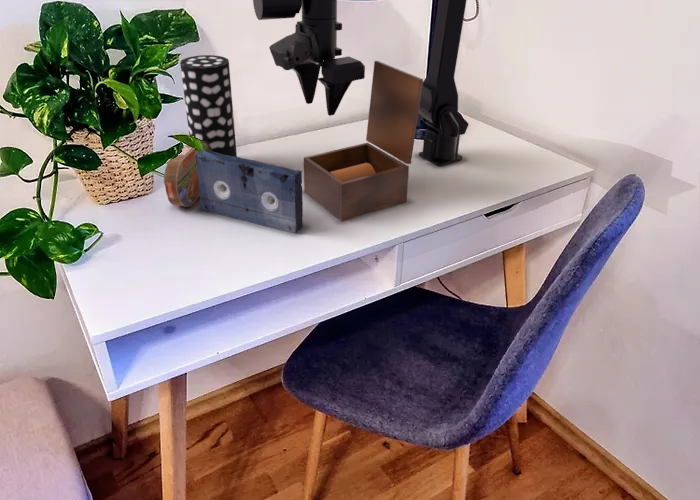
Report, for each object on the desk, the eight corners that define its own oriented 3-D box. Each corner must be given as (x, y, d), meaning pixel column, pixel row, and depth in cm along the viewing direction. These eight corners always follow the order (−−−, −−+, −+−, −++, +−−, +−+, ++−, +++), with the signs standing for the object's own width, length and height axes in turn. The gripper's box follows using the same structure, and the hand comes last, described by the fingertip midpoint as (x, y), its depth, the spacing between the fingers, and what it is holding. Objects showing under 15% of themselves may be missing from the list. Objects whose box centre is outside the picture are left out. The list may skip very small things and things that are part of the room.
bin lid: (419, 79, 98) (423, 79, 98) (374, 60, 106) (377, 60, 107) (407, 164, 105) (410, 163, 105) (365, 140, 113) (369, 140, 114)
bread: (361, 183, 113) (361, 158, 110) (378, 195, 109) (379, 168, 106) (323, 194, 109) (322, 167, 106) (339, 206, 105) (339, 179, 102)
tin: (183, 215, 103) (176, 168, 98) (165, 213, 103) (157, 167, 99) (217, 177, 115) (213, 134, 111) (201, 176, 116) (196, 133, 112)
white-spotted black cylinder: (184, 171, 118) (170, 64, 107) (209, 155, 124) (198, 53, 114) (222, 179, 115) (211, 70, 104) (245, 162, 122) (237, 58, 111)
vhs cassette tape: (304, 227, 100) (302, 170, 95) (294, 235, 98) (292, 177, 93) (210, 202, 107) (204, 148, 102) (200, 209, 105) (193, 154, 100)
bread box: (341, 221, 102) (341, 184, 99) (304, 192, 111) (303, 157, 107) (406, 201, 108) (409, 166, 105) (366, 175, 117) (367, 142, 114)
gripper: (248, 10, 104) (254, 102, 112) (306, 33, 91) (308, 134, 99) (306, 4, 109) (307, 92, 118) (368, 25, 96) (365, 121, 105)
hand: (319, 109), depth 110 cm, fingers open, 7 cm apart
